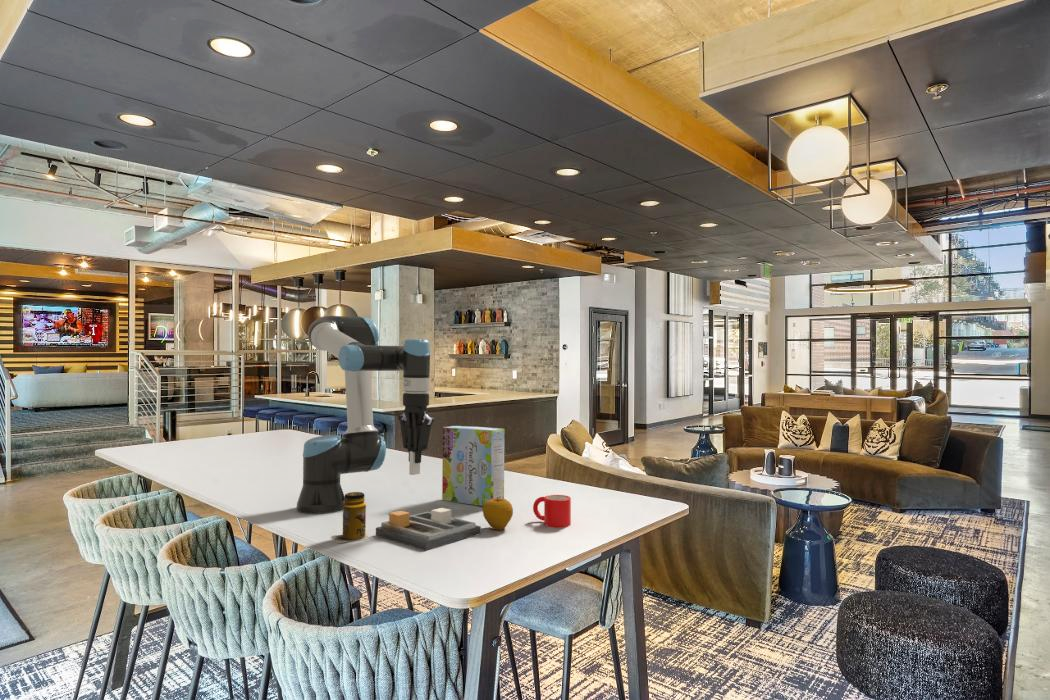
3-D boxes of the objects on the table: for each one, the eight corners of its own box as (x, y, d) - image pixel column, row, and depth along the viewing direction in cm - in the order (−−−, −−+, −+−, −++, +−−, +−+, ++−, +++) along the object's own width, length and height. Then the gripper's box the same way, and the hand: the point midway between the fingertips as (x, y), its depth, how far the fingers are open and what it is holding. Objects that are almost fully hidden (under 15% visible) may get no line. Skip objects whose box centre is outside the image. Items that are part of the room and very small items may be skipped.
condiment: (370, 538, 163) (370, 494, 163) (338, 544, 158) (339, 498, 158) (361, 532, 169) (362, 489, 169) (331, 537, 164) (331, 493, 164)
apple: (477, 526, 176) (477, 495, 176) (506, 523, 179) (506, 493, 179) (488, 534, 167) (488, 502, 168) (517, 531, 171) (517, 499, 171)
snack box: (506, 503, 204) (506, 428, 205) (491, 508, 197) (491, 430, 198) (456, 496, 216) (456, 424, 217) (440, 500, 209) (441, 426, 209)
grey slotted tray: (375, 535, 166) (375, 523, 166) (430, 520, 181) (430, 510, 181) (425, 550, 153) (425, 537, 153) (480, 533, 168) (480, 522, 168)
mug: (537, 517, 186) (537, 492, 186) (574, 522, 181) (574, 496, 181) (527, 524, 179) (527, 497, 179) (565, 528, 174) (565, 501, 174)
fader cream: (431, 522, 171) (431, 510, 171) (441, 519, 174) (441, 507, 174) (440, 525, 168) (440, 512, 168) (451, 522, 171) (451, 509, 171)
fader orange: (389, 525, 167) (389, 513, 167) (400, 522, 170) (400, 510, 170) (398, 528, 165) (398, 515, 165) (409, 525, 168) (409, 512, 168)
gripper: (391, 391, 175) (389, 472, 174) (421, 394, 167) (420, 479, 166) (410, 390, 180) (409, 469, 180) (441, 393, 172) (439, 475, 172)
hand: (414, 473), depth 173 cm, fingers closed
